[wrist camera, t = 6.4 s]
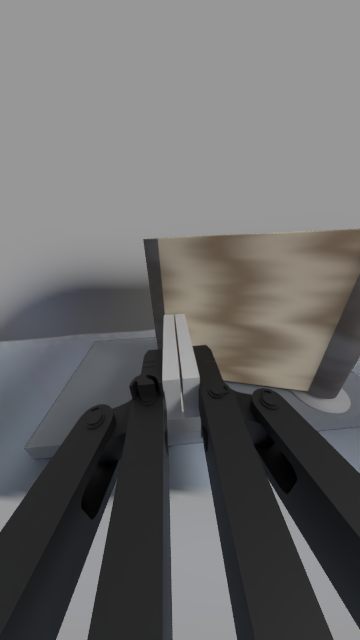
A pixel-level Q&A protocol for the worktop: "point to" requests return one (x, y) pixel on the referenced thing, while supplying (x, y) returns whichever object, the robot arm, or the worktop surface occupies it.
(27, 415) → the worktop surface
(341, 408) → the grey rectangular base plate
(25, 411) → the worktop surface
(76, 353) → the worktop surface
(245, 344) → the beige upright panel
